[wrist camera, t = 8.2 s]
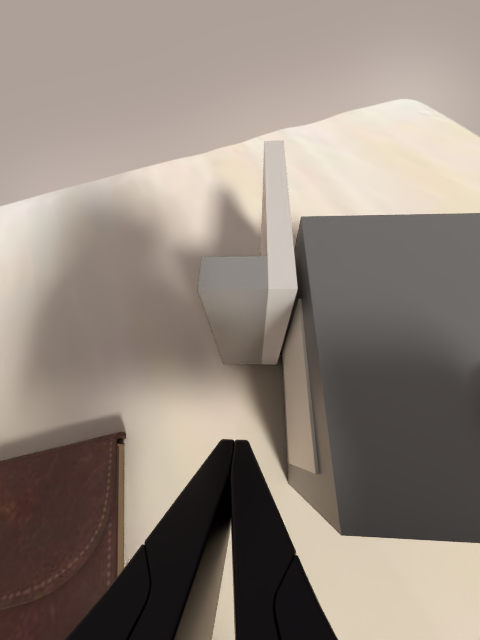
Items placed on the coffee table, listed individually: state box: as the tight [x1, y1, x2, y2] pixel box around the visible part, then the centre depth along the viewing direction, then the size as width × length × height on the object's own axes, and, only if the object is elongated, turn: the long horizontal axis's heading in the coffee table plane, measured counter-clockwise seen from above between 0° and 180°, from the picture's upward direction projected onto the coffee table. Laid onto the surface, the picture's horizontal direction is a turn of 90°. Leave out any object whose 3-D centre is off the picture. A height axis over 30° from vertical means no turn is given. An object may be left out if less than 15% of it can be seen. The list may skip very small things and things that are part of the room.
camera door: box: [197, 141, 298, 365], centre depth 14 cm, size 10×4×8 cm, turn 178°
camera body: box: [281, 213, 480, 543], centre depth 11 cm, size 11×7×10 cm, turn 178°
